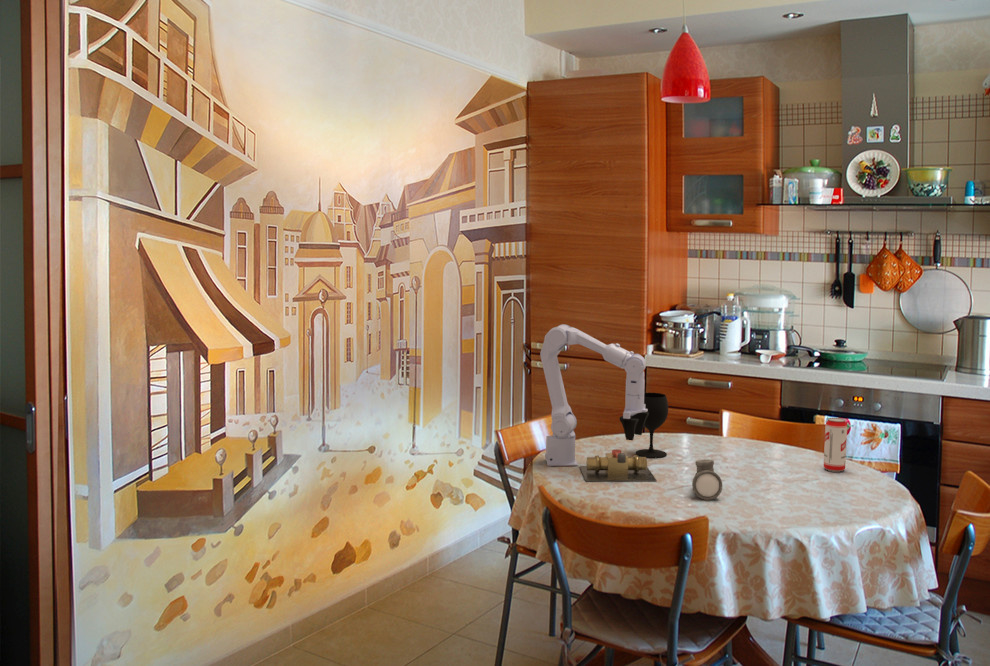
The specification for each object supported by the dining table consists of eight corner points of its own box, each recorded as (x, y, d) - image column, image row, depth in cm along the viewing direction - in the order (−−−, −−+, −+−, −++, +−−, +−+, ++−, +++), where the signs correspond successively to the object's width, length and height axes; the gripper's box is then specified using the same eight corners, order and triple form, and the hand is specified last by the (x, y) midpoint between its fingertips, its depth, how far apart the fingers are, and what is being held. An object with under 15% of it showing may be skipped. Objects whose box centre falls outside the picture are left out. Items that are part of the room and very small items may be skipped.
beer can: (845, 468, 266) (848, 418, 264) (844, 473, 260) (847, 422, 258) (824, 466, 268) (826, 416, 266) (822, 471, 263) (824, 420, 261)
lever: (611, 453, 262) (611, 445, 261) (620, 453, 262) (620, 445, 261) (617, 463, 250) (617, 455, 250) (626, 463, 250) (627, 455, 250)
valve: (585, 482, 252) (586, 463, 251) (579, 467, 268) (579, 449, 267) (656, 481, 252) (656, 463, 252) (646, 466, 268) (646, 449, 267)
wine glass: (648, 459, 276) (649, 399, 274) (628, 452, 285) (630, 393, 283) (673, 456, 281) (675, 396, 278) (653, 448, 290) (655, 391, 287)
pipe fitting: (723, 500, 233) (721, 462, 233) (693, 500, 235) (691, 463, 235) (720, 492, 245) (718, 456, 245) (692, 492, 247) (689, 457, 247)
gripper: (639, 399, 254) (638, 443, 256) (655, 391, 267) (654, 433, 269) (617, 397, 258) (616, 441, 259) (633, 389, 270) (632, 431, 272)
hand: (633, 437), depth 264 cm, fingers open, 7 cm apart
